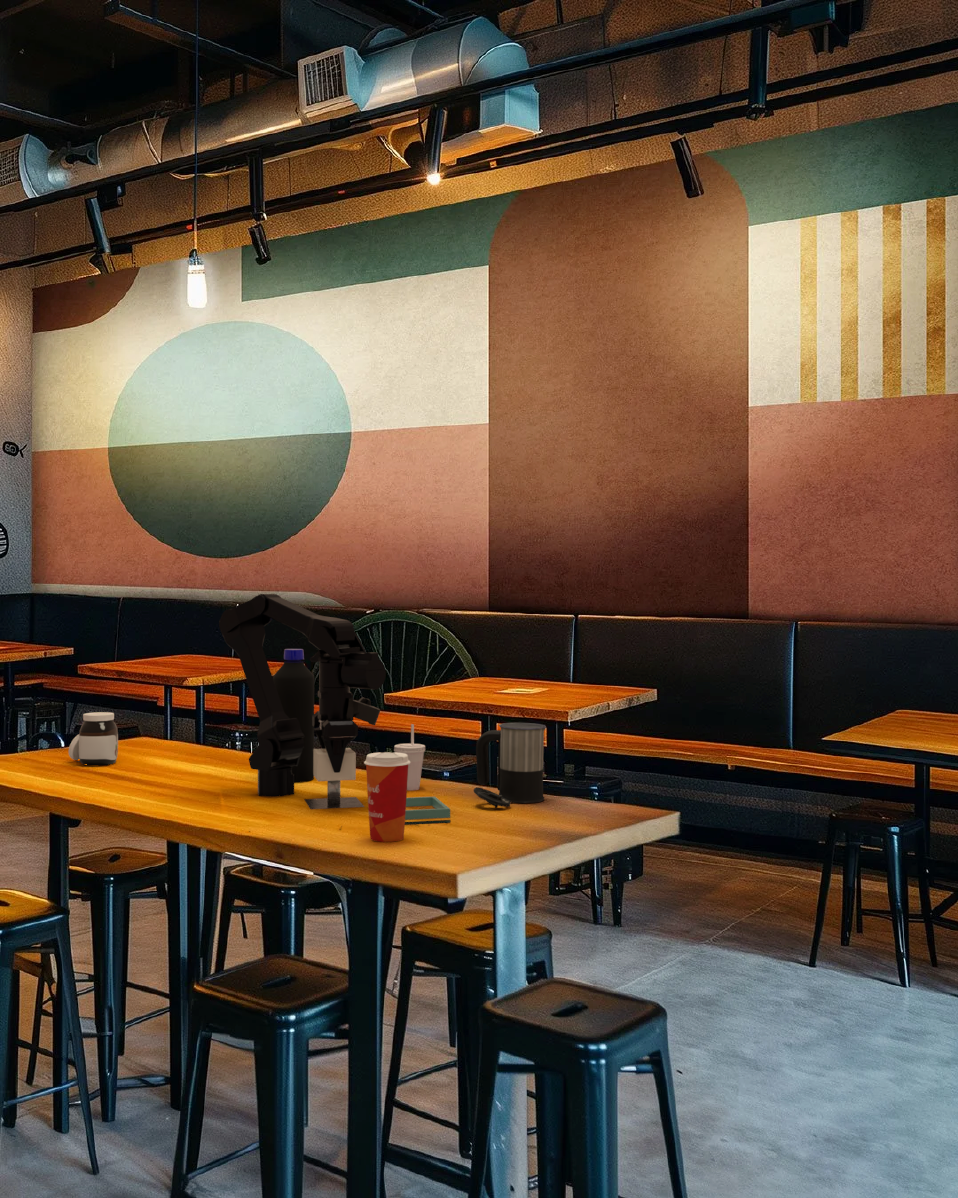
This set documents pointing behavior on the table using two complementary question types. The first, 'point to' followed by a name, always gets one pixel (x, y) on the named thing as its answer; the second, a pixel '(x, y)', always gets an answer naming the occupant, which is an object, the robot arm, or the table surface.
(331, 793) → the metal post stand
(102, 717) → the spread jar
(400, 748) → the smoothie
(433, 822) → the tray
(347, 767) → the collar
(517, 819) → the table surface
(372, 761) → the paper cup
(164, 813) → the table surface
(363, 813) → the table surface
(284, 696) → the bottle
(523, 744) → the milk frother
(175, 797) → the table surface
